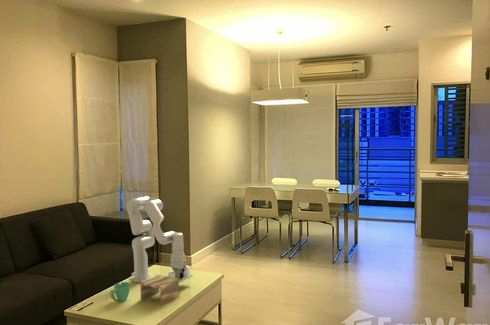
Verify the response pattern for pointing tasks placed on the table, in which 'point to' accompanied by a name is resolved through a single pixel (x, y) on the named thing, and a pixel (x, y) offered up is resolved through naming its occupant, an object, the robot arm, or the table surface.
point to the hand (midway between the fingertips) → (179, 277)
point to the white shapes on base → (177, 274)
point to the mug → (120, 291)
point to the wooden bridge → (166, 286)
